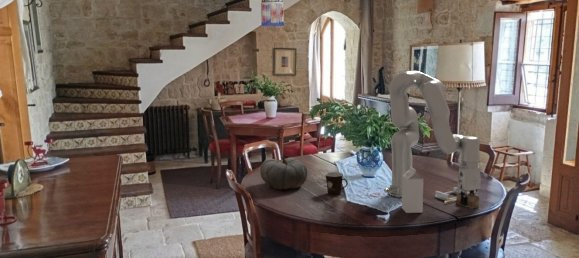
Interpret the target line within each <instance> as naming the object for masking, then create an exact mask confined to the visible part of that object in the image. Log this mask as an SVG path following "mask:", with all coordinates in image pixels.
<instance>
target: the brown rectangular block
mask: <svg viewBox="0 0 579 258" xmlns="http://www.w3.org/2000/svg"><path fill="white" fill-rule="evenodd" d="M463 192H464V191H463ZM456 197H457V200H456V202H455V203H456V204H457V205H460V206H463V205H462V204H461V203H460V202H461V196H460V194H459V193H457V194H456ZM466 197H467V205H466V206H467V207H466V208H468V207H469V208H468V209H471V208H472V210H473V208H475V209H478V208H477V207H479V208H480V196H478V195H477V194H476V195H473V194H470V193H469V192H467V196H466ZM463 207H465V205H464V206H463Z"/></svg>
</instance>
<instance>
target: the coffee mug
mask: <svg viewBox="0 0 579 258" xmlns="http://www.w3.org/2000/svg"><path fill="white" fill-rule="evenodd" d="M325 179H326V181H325V182H326V188H327V195H329V196H332V197H333V196H334V197H335V196H340V195H342V190H343V189H345V188H346V187H348V180H347V178H344V173H342V172H339V171H330V172H326V173H325ZM343 181H345V185H344V186H343Z"/></svg>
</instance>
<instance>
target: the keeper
mask: <svg viewBox="0 0 579 258" xmlns="http://www.w3.org/2000/svg"><path fill="white" fill-rule="evenodd" d="M456 189H457V186H453V190H451V191H447V192H442V191H439V190H435V195H434V196H435V198H436V199H440V200H443V201H448V200H452V199H457V196H455V197H450V195H452V194H455V195H457V193H458V192H457V191H456ZM464 192H465V191H464Z"/></svg>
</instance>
